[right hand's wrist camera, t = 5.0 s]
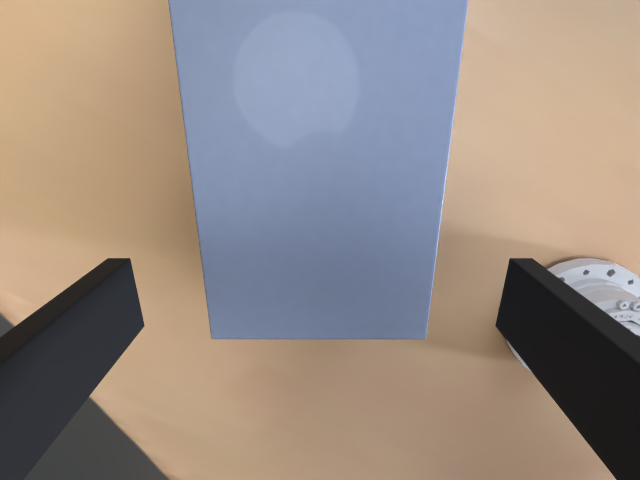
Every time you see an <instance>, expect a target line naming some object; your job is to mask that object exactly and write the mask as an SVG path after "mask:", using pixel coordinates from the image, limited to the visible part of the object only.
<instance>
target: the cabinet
mask: <svg viewBox="0 0 640 480" xmlns="http://www.w3.org/2000/svg"><path fill="white" fill-rule="evenodd" d="M168 1H169V9H170V17H171V25H172V32H173V40H174V48H175V56H176V64H177V72H178V80H179V87H180V95H181V103H182V111H183V119H184V127H185V135H186V143H187V150H188V158H189V166H190V174H191V182H192V190H193V198H194V205H195V213H196V221H197V229H198V237H199V245H200V253H201V260H202V268H203V276H204V284H205V292H206V300H207V308H208V316H209V323H210V331H211V338H212V339H426V336H427V328H428V320H429V311H430V303H431V295H432V287H433V279H434V271H435V263H436V255H437V247H438V239H439V231H440V223H441V215H442V207H443V199H444V191H445V183H446V175H447V167H448V159H449V151H450V143H451V135H452V127H453V118H454V110H455V102H456V94H457V86H458V78H459V70H460V62H461V54H462V46H463V38H464V30H465V22H466V14H467V6H468V0H168Z"/></svg>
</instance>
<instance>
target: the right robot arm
mask: <svg viewBox="0 0 640 480" xmlns="http://www.w3.org/2000/svg"><path fill="white" fill-rule="evenodd" d="M143 327H144V322H143V317H142V312H141V307H140V303H139V298H138V293H137V288H136V284H135V279H134V274H133V270H132V265H131V260H130V258H108V259H107V260H105V261H104V262H102V263H101V264H100V265H98V266H97V267H96V268H94V269H93V270H92V271H90V272H89V273H87V274H86V275H85V276H83V277H82V278H81V279H79V280H78V281H77V282H75V283H74V284H72V285H71V286H70V287H68V288H67V289H66V290H64V291H63V292H62V293H60V294H59V295H57V296H56V297H55V298H53V299H52V300H51V301H49V302H48V303H47V304H45V305H44V306H42V307H41V308H40V309H38V310H37V311H36V312H34V313H33V314H32V315H30V316H29V317H27V318H26V319H25V320H23V321H22V322H21V323H19V324H18V325H17V326H15V327H14V328H12V329H11V330H10V331H8V332H7V333H6V334H4V335H3V336H2V337H0V480H23V479H24V478H25V477H26V476H27V474H28V473H29V472H30V470H31V469H32V468H33V467H34V465H35V464H36V463H37V462H38V460H39V459H40V458H41V456H42V455H43V454H44V453H45V451H46V450H47V449H48V448H49V446H50V445H51V444H52V442H53V441H54V440H55V439H56V437H57V436H58V435H59V434H60V432H61V431H62V430H63V429H64V427H65V426H66V425H67V423H68V422H69V421H70V420H71V418H72V417H73V416H74V415H75V413H76V412H77V411H78V410H79V408H80V407H81V406H82V404H83V403H84V402H85V401H86V399H87V398H88V397H89V396H90V394H91V393H92V392H93V390H94V389H95V388H96V387H97V385H98V384H99V383H100V382H101V380H102V379H103V378H104V377H105V375H106V374H107V373H108V371H109V370H110V369H111V368H112V366H113V365H114V364H115V363H116V361H117V360H118V359H119V357H120V356H121V355H122V354H123V352H124V351H125V350H126V349H127V347H128V346H129V345H130V343H131V342H132V341H133V340H134V338H135V337H136V336H137V335H138V333H139V332H140V331H141V330H142V328H143ZM496 327H497V328H498V330H499V331H500V332H501V333H502V335H503V336H504V337H505V338H506V340H507V341H508V342H509V343H510V345H511V346H512V347H513V349H514V350H515V351H516V352H517V354H518V355H519V356H520V357H521V359H522V360H523V361H524V363H525V364H526V365H527V366H528V368H529V369H530V370H531V371H532V373H533V374H534V375H535V377H536V378H537V379H538V380H539V382H540V383H541V384H542V385H543V387H544V388H545V389H546V390H547V392H548V393H549V394H550V396H551V397H552V398H553V399H554V401H555V402H556V403H557V404H558V406H559V407H560V408H561V410H562V411H563V412H564V413H565V415H566V416H567V417H568V418H569V420H570V421H571V422H572V423H573V425H574V426H575V427H576V429H577V430H578V431H579V432H580V434H581V435H582V436H583V437H584V439H585V440H586V441H587V443H588V444H589V445H590V446H591V448H592V449H593V450H594V451H595V453H596V454H597V455H598V456H599V458H600V459H601V460H602V462H603V463H604V464H605V465H606V467H607V468H608V469H609V470H610V472H611V473H612V474H613V476H614V477H615V478H616V479H617V480H640V336H639V335H636V334H634V333H633V332H632V331H630V330H629V329H628V328H626V327H625V326H623V325H622V324H621V323H619V322H618V321H617V320H615V319H614V318H613V317H611V316H610V315H608V314H607V313H606V312H604V311H603V310H602V309H600V308H599V307H598V306H596V305H595V304H593V303H592V302H591V301H589V300H588V299H587V298H585V297H584V296H583V295H581V294H580V293H578V292H577V291H576V290H574V289H573V288H572V287H570V286H569V285H568V284H566V283H565V282H563V281H562V280H561V279H559V278H558V277H557V276H555V275H554V274H553V273H551V272H550V271H548V270H547V269H546V268H544V267H543V266H542V265H540V264H539V263H538V262H536V261H535V260H533V259H532V258H510V260H509V265H508V270H507V274H506V279H505V284H504V288H503V293H502V298H501V303H500V307H499V312H498V317H497V322H496Z"/></svg>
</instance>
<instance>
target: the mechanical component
mask: <svg viewBox="0 0 640 480" xmlns="http://www.w3.org/2000/svg"><path fill="white" fill-rule="evenodd" d="M547 270H548V271H550V272H551V273H553V274H554V275H555V276H557V277H558V278H559V279H561V280H562V281H563V282H565V283H566V284H568V285H569V286H570V287H572V288H573V289H574V290H576V291H577V292H578V293H580V294H581V295H583V296H584V297H585V298H587V299H588V300H589V301H591V302H592V303H593V304H595V305H596V306H598V307H599V308H600V309H602V310H603V311H604V312H606V313H607V314H608V315H610V316H611V317H613V318H614V319H615V320H617V321H618V322H619V323H621V324H622V325H623V326H625V327H626V328H628V329H629V330H630V331H632V332H633V333H634V334H636V335H639V336H640V278H639V277H638V276H637V275H636V274H635V273H633V272H631V271H629V270H627V269H625V268H624V267H622V266H620V265H618V264H616V263H614V262H612V261H606V260H600V259H595V258H578V259H574V260H570V261H566V262H562V263H558V264H556V265H554V266H552V267H550V268H548V269H547ZM506 341H507V340H506ZM507 343H508V345H509V347H510V349H511V350H512V352H513V354H514V355H515V356H516V358H517V359H518V360H519V361H520V362H521V364H522V365H523V366H524V367H526V368H527V369H528V370H529V371H530V372H532V371H531V370H530V369H529V368H528V366H527V365H526V364H525V363H524V361H523V360H522V359H521V357H520V356H519V355H518V354H517V352H516V351H515V350H514V349H513V347H512V346H511V345H510V343H509V342H508V341H507Z"/></svg>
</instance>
